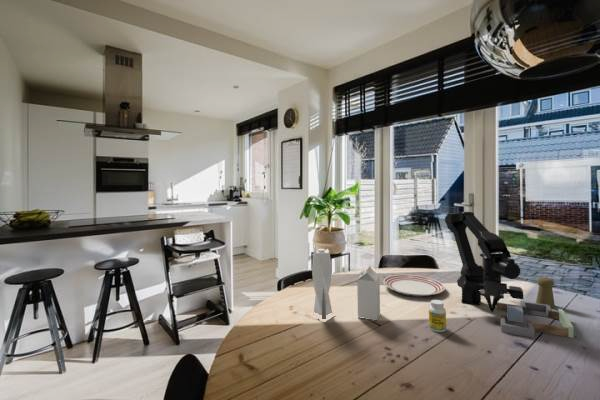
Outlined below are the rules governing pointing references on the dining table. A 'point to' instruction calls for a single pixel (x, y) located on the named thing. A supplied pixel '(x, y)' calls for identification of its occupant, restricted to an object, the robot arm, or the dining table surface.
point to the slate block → (515, 313)
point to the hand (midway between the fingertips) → (491, 311)
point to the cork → (545, 292)
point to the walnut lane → (538, 326)
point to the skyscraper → (322, 281)
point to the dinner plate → (414, 285)
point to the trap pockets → (528, 332)
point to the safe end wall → (566, 322)
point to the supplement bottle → (437, 316)
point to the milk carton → (368, 294)
